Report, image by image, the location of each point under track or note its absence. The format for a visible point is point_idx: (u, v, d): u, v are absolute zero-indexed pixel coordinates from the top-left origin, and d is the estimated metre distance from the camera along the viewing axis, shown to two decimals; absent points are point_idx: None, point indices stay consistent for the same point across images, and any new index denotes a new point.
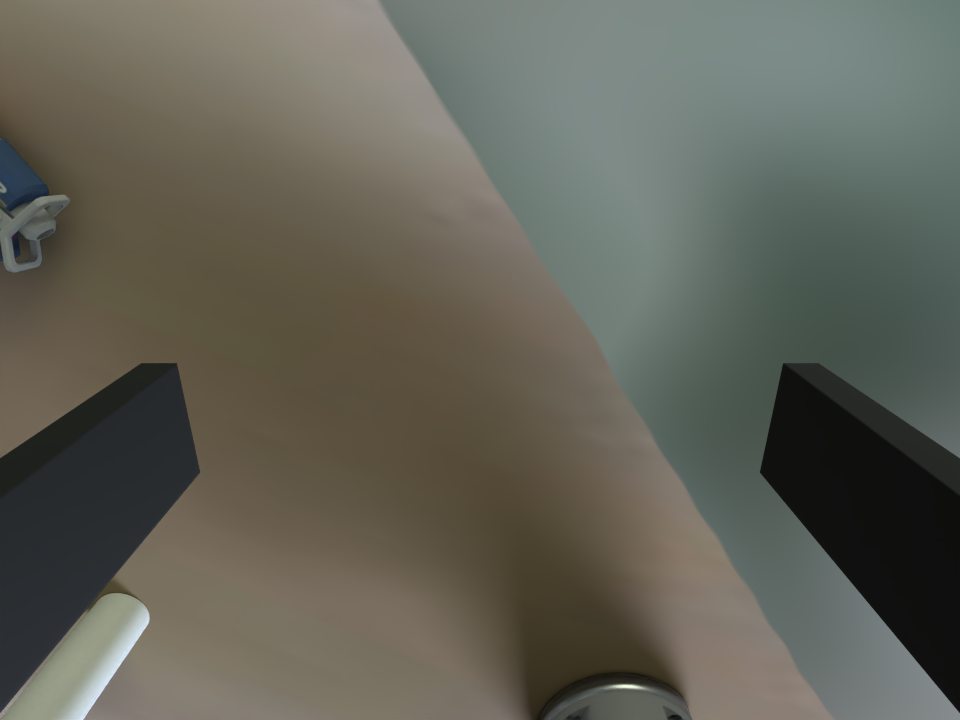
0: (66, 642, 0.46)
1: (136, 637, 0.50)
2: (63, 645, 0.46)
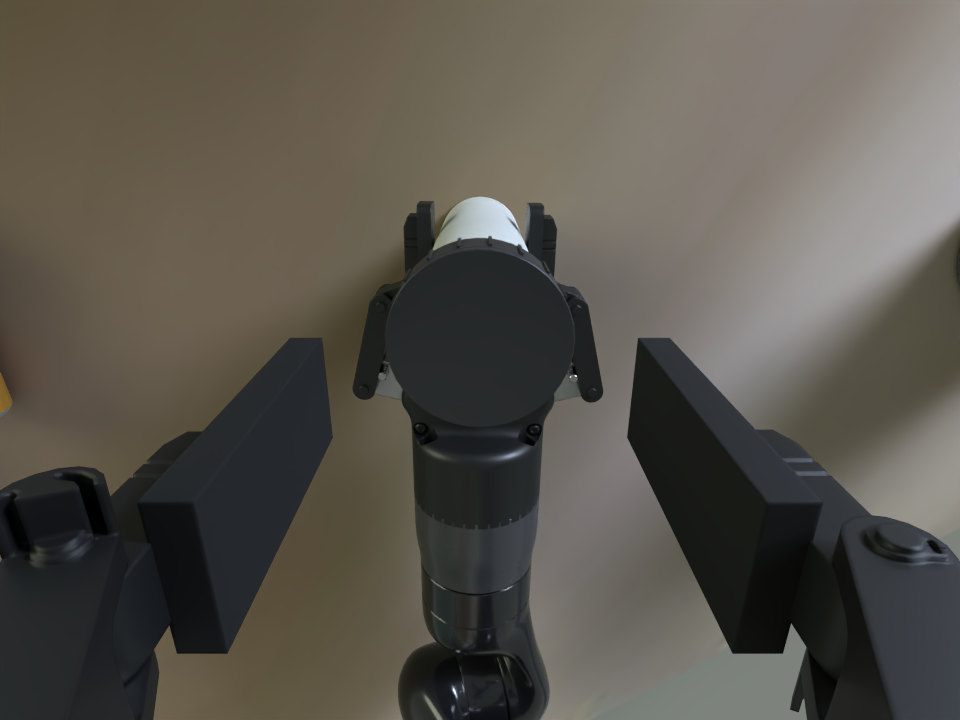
0: None
1: (489, 201, 0.32)
2: None
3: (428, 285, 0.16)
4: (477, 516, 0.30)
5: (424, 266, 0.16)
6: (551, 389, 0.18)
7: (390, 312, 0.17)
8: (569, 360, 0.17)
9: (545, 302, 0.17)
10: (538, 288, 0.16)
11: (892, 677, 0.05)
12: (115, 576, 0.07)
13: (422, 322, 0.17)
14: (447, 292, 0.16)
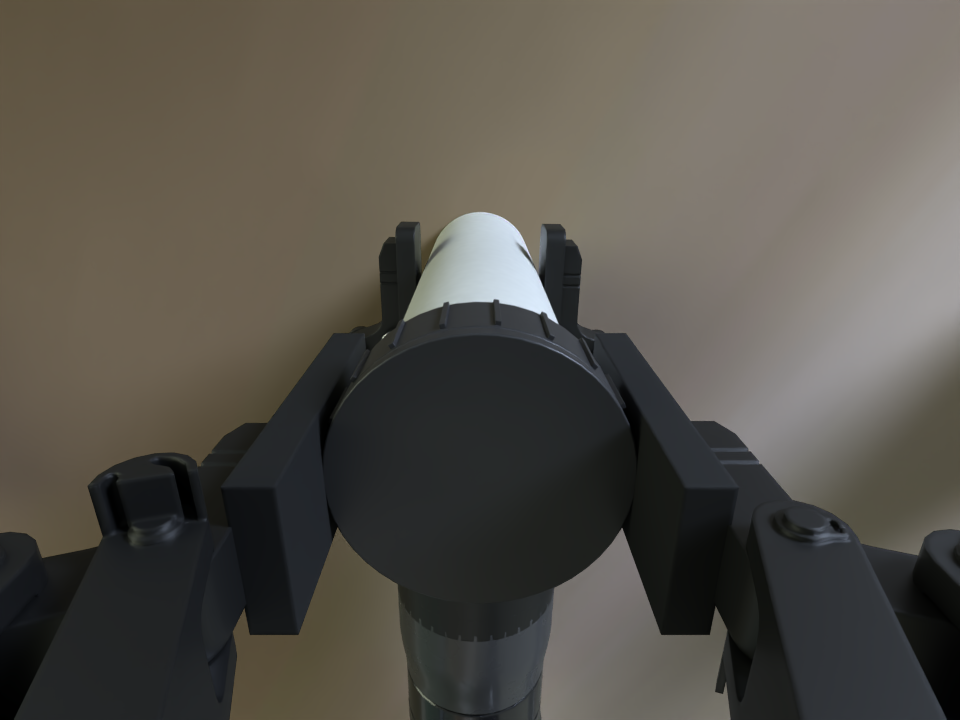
0: None
1: (492, 219, 0.26)
2: None
3: (391, 392, 0.10)
4: (476, 626, 0.24)
5: (384, 361, 0.09)
6: (596, 550, 0.11)
7: (328, 434, 0.10)
8: (628, 507, 0.10)
9: (591, 419, 0.10)
10: (579, 397, 0.10)
11: (796, 657, 0.05)
12: (203, 560, 0.07)
13: (383, 450, 0.10)
14: (424, 403, 0.10)
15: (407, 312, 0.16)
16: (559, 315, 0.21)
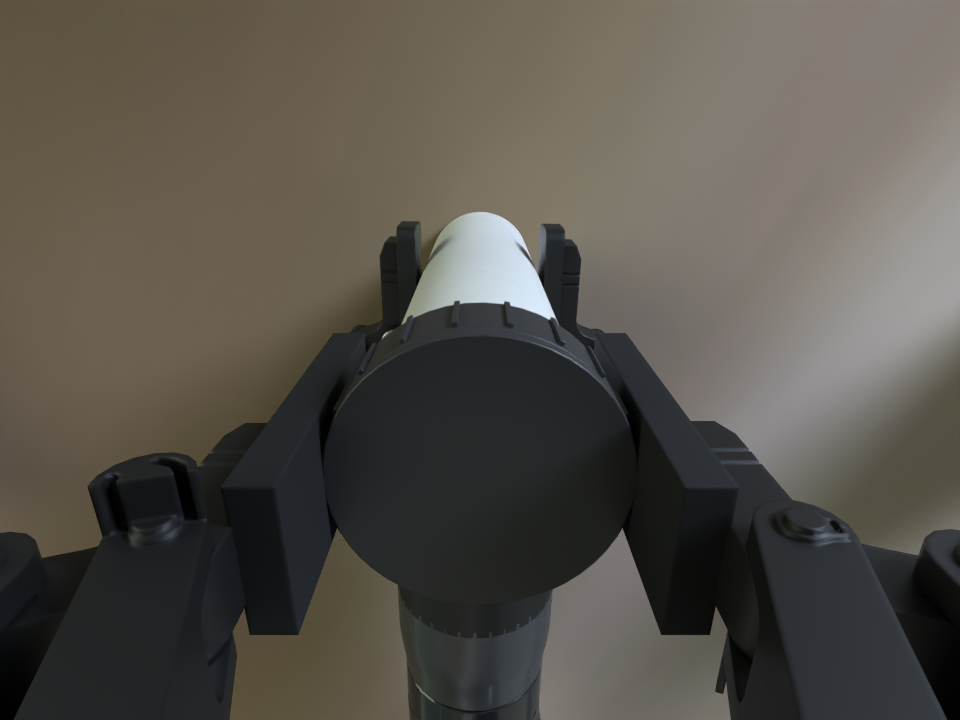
0: None
1: (492, 219, 0.26)
2: None
3: (362, 522, 0.11)
4: (475, 622, 0.24)
5: (333, 517, 0.11)
6: (605, 401, 0.10)
7: (390, 578, 0.11)
8: (563, 358, 0.09)
9: (442, 370, 0.09)
10: (414, 374, 0.09)
11: (796, 657, 0.05)
12: (203, 560, 0.07)
13: (418, 546, 0.11)
14: (381, 502, 0.10)
15: (408, 310, 0.16)
16: (558, 314, 0.21)
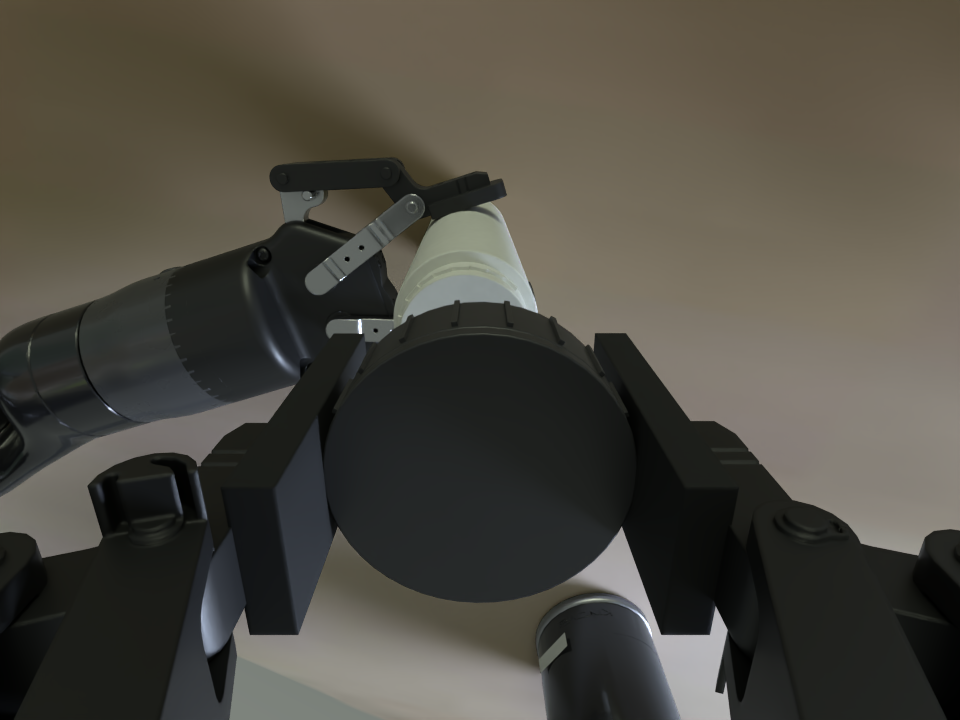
0: (433, 220, 0.29)
1: None
2: (431, 222, 0.29)
3: (363, 520, 0.11)
4: (198, 355, 0.26)
5: (334, 516, 0.11)
6: (604, 400, 0.10)
7: (390, 577, 0.11)
8: (562, 357, 0.09)
9: (442, 369, 0.09)
10: (414, 373, 0.09)
11: (796, 657, 0.05)
12: (204, 560, 0.07)
13: (418, 544, 0.11)
14: (381, 500, 0.10)
15: (482, 231, 0.22)
16: None
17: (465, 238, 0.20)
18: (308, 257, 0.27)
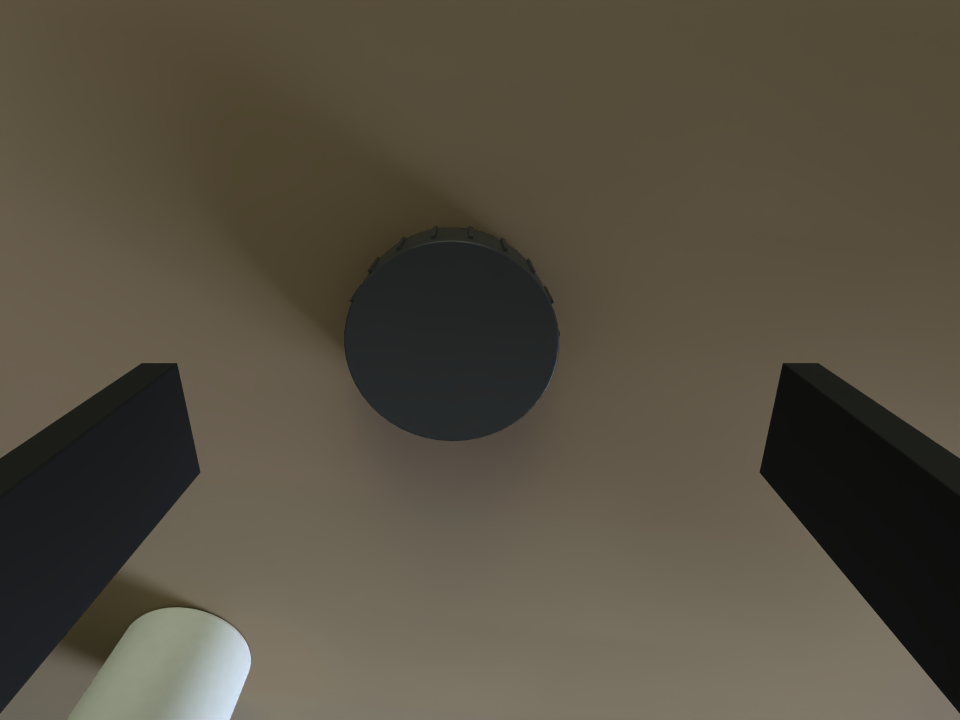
0: None
1: (229, 699, 0.20)
2: None
3: (372, 378, 0.15)
4: None
5: (352, 375, 0.15)
6: (534, 287, 0.14)
7: (391, 421, 0.16)
8: (505, 257, 0.14)
9: (425, 265, 0.14)
10: (406, 269, 0.14)
11: None
12: None
13: (410, 396, 0.16)
14: (385, 362, 0.15)
15: None
16: None
17: None
18: None
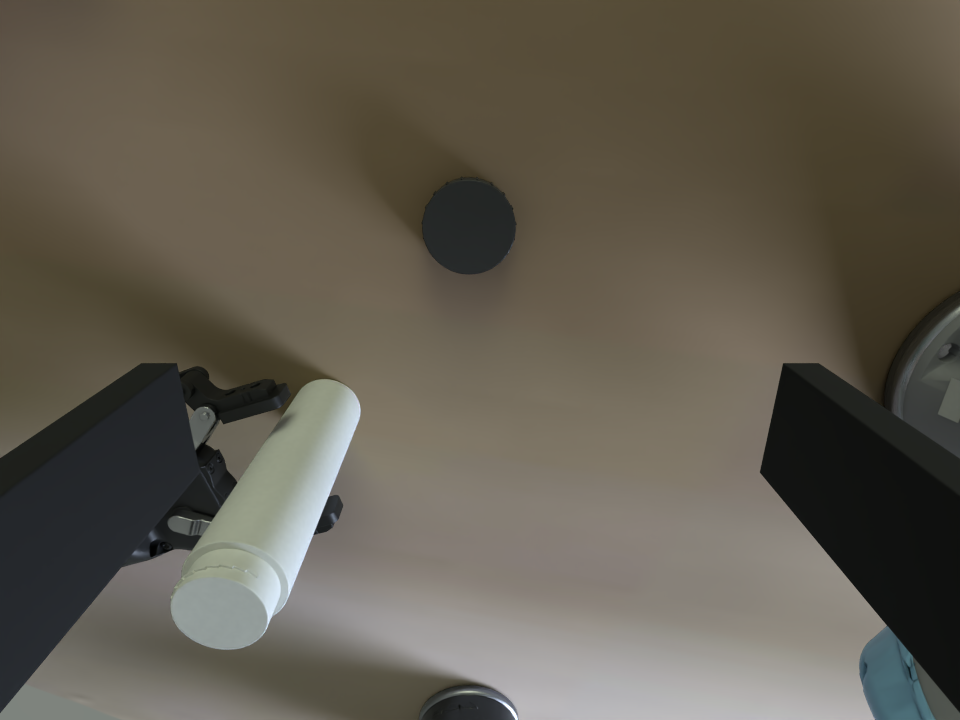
0: (278, 422, 0.36)
1: (354, 419, 0.39)
2: (276, 425, 0.36)
3: (433, 242, 0.35)
4: None
5: (425, 241, 0.35)
6: (504, 200, 0.34)
7: (441, 264, 0.35)
8: (491, 187, 0.34)
9: (458, 190, 0.34)
10: (450, 192, 0.34)
11: None
12: None
13: (450, 251, 0.35)
14: (439, 235, 0.35)
15: (272, 487, 0.28)
16: None
17: (245, 510, 0.26)
18: None
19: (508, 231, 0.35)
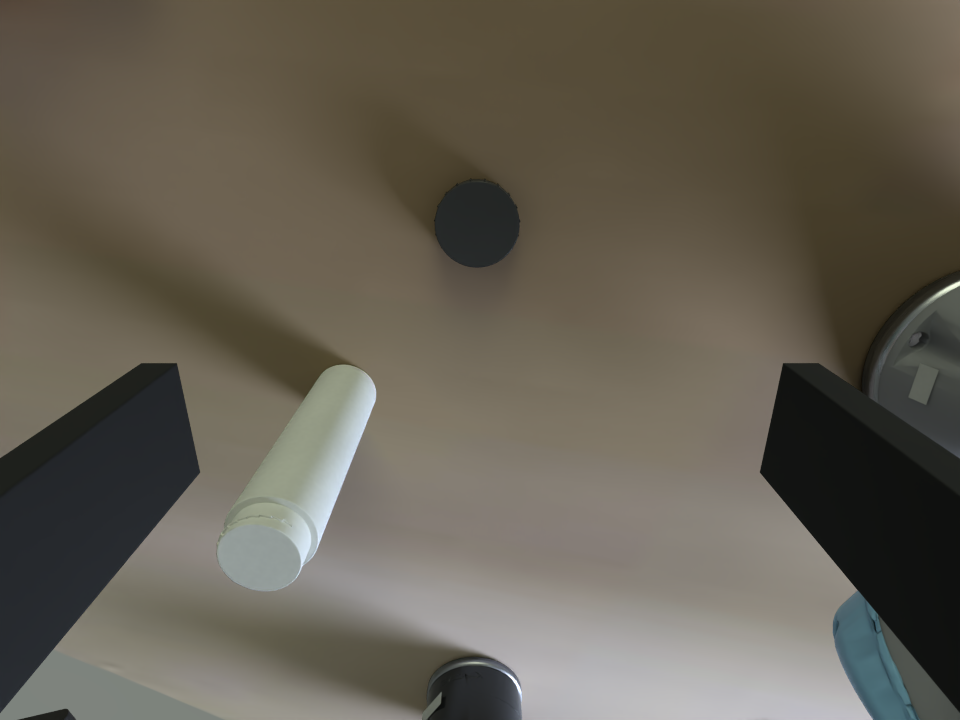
0: None
1: (371, 401, 0.43)
2: (301, 404, 0.39)
3: (445, 238, 0.38)
4: None
5: (437, 237, 0.39)
6: (509, 200, 0.38)
7: (451, 258, 0.39)
8: (497, 188, 0.37)
9: (467, 191, 0.37)
10: (460, 192, 0.37)
11: None
12: None
13: (460, 246, 0.39)
14: (450, 231, 0.38)
15: (302, 453, 0.32)
16: None
17: (279, 471, 0.30)
18: None
19: (513, 228, 0.38)
